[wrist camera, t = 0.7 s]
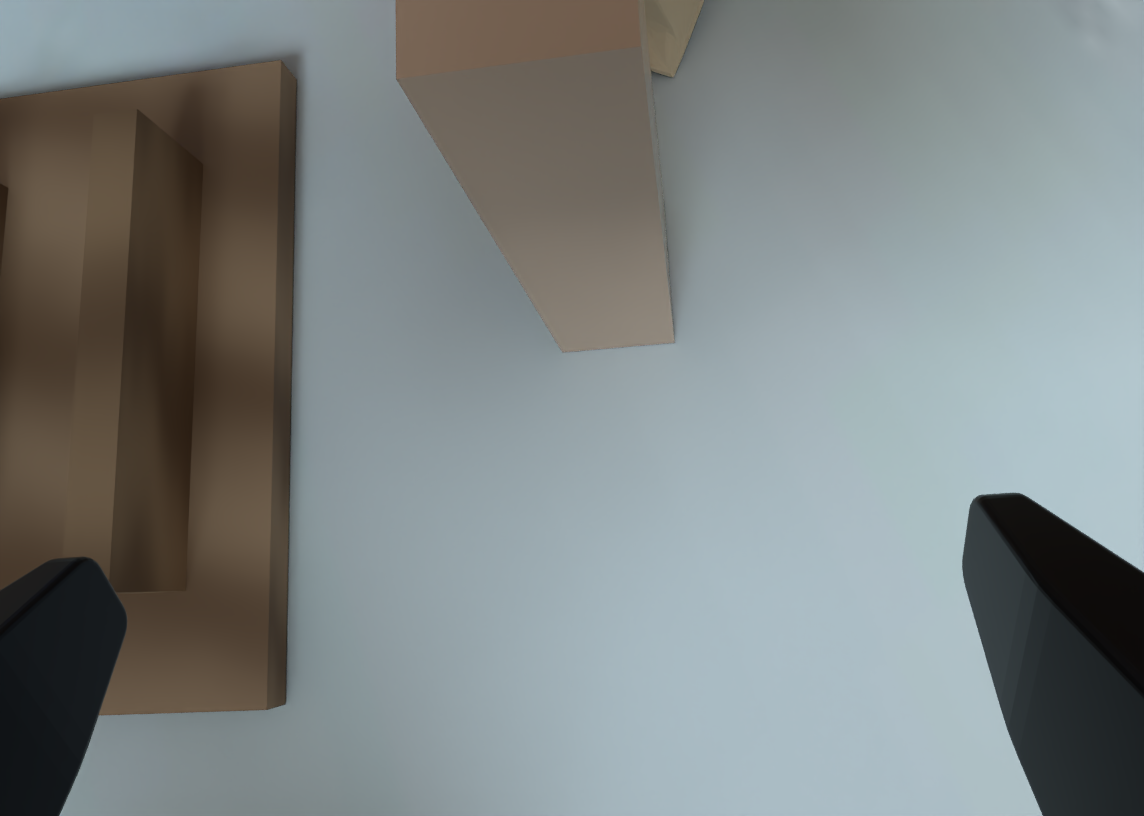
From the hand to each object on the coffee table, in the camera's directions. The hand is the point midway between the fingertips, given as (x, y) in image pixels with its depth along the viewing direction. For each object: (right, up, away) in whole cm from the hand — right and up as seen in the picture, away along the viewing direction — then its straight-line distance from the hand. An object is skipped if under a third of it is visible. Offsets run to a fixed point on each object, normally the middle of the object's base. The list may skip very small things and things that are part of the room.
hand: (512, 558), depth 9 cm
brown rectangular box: (+2, +5, +15) cm, 16 cm away
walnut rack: (-13, +2, +16) cm, 21 cm away
